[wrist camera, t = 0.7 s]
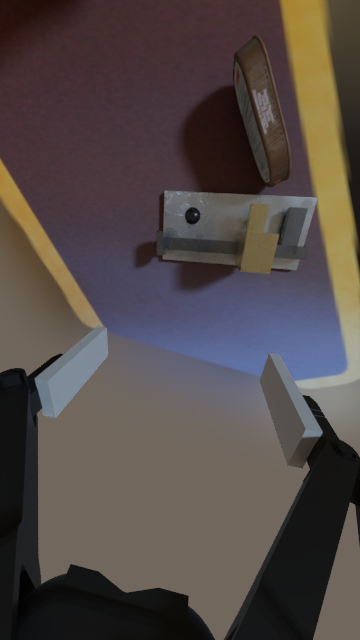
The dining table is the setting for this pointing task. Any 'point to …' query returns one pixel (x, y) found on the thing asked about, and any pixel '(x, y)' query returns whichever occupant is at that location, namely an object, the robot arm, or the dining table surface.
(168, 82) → the dining table surface
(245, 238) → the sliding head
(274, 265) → the bolt plate
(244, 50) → the tin
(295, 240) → the grey slide rail base
